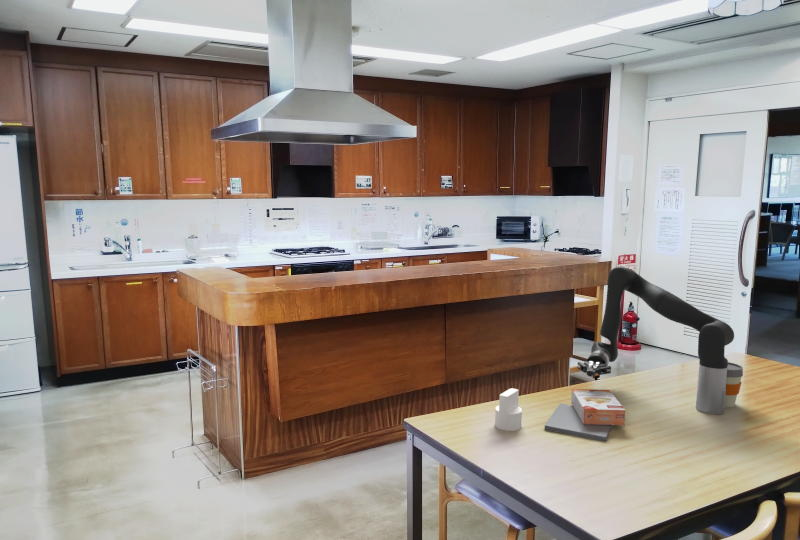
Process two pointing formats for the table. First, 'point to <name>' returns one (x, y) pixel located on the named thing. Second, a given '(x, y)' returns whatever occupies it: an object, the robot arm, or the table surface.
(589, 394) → the cracker box
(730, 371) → the reusable coffee cup
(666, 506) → the table surface
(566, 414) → the board
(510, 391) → the cylinder with rectangular tab
